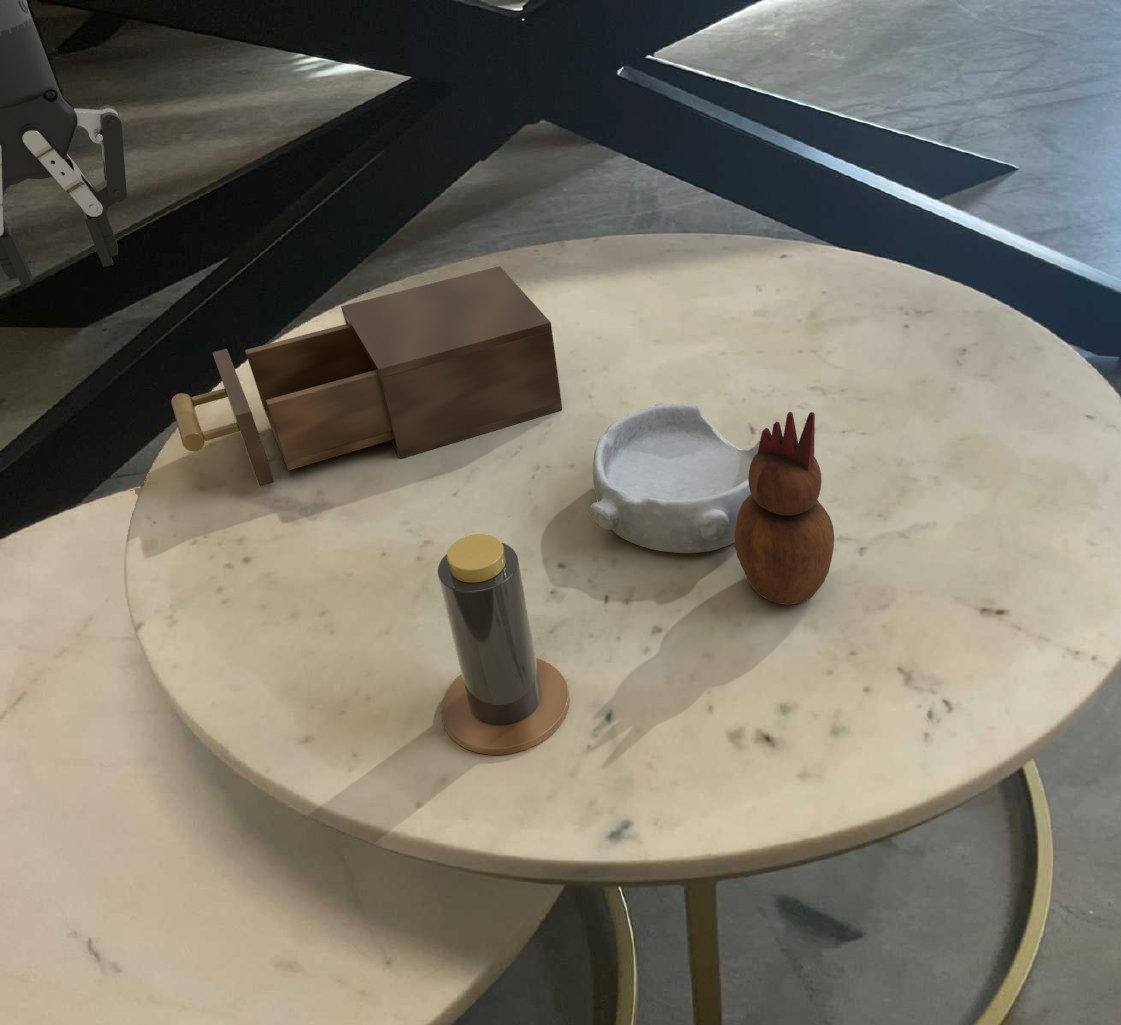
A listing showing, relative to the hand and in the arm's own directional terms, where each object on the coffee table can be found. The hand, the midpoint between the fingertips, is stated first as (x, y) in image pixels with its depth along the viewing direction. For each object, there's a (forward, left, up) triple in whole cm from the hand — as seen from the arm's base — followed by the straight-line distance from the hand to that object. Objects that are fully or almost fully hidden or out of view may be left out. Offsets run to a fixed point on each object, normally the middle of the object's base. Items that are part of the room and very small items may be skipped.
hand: (66, 270), depth 81 cm
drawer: (+12, 0, -18) cm, 22 cm away
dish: (+36, -24, -20) cm, 47 cm away
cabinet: (+26, 0, -19) cm, 32 cm away
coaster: (+17, -37, -19) cm, 45 cm away
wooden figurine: (+38, -36, -20) cm, 56 cm away
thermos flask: (+17, -37, -19) cm, 45 cm away
